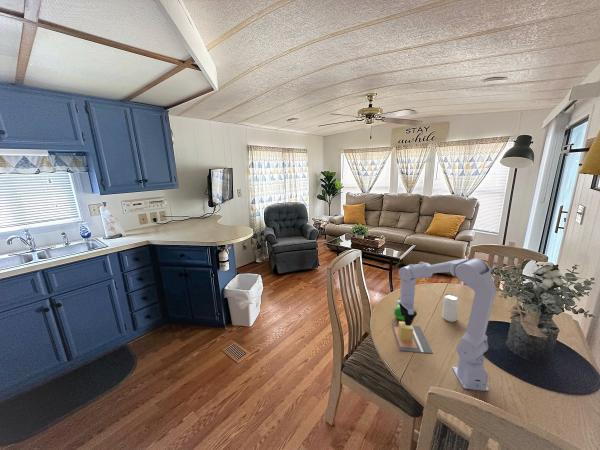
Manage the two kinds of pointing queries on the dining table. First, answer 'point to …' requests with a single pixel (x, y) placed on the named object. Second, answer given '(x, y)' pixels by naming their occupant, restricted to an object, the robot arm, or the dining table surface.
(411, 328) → the block
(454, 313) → the can
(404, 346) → the mat
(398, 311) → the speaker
